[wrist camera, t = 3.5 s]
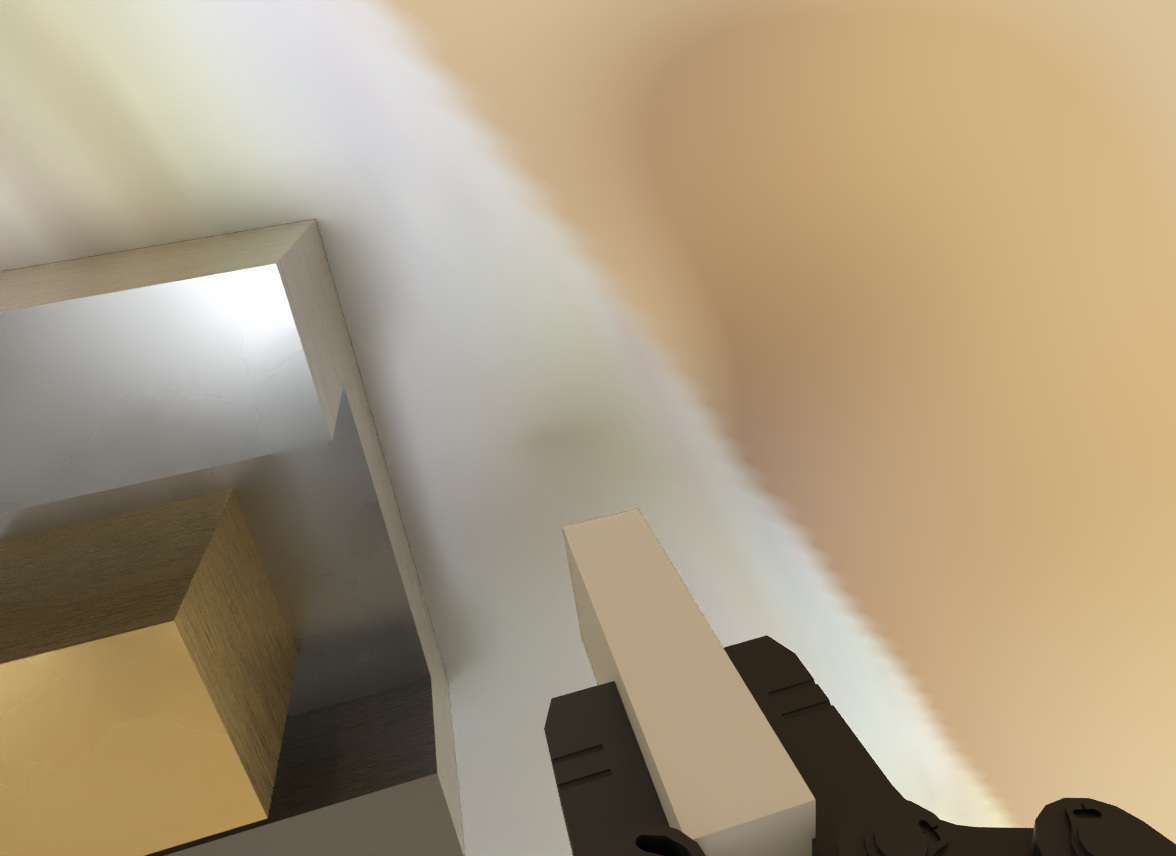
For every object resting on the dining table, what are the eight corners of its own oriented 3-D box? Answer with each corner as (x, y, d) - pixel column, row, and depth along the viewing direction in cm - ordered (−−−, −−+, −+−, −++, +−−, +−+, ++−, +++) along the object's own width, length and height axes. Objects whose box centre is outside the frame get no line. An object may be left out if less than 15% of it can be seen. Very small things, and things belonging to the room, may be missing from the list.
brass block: (93, 708, 16) (-9, 901, 12) (-3, 541, 14) (-159, 703, 10) (298, 653, 17) (267, 819, 13) (233, 488, 15) (173, 620, 11)
